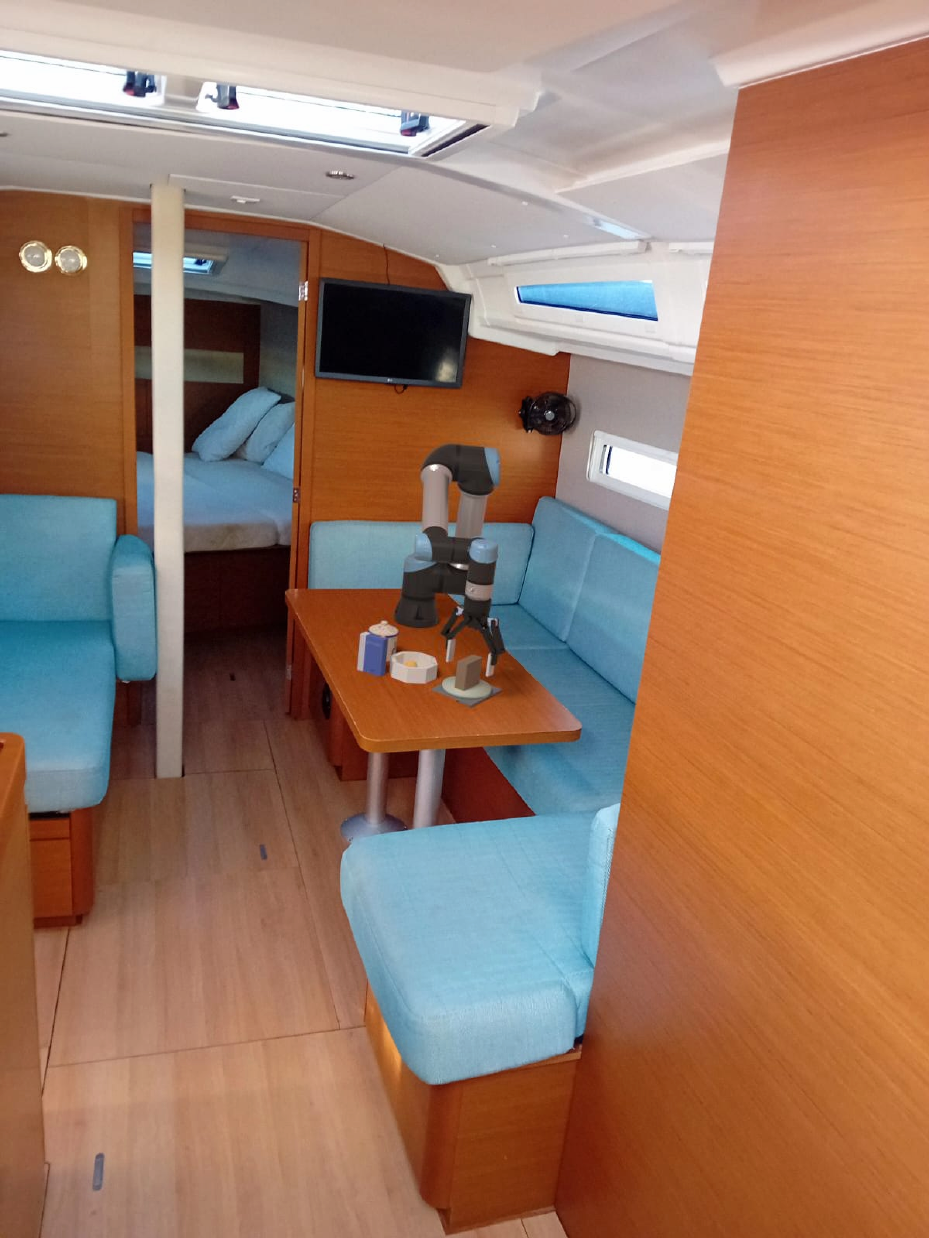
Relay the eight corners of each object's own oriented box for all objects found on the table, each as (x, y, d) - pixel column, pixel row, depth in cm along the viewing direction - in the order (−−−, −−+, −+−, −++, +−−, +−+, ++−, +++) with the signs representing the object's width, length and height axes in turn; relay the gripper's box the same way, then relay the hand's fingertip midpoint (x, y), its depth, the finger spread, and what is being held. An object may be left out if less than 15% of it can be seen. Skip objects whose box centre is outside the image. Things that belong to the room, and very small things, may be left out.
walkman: (385, 675, 269) (388, 636, 265) (380, 678, 266) (383, 639, 262) (361, 668, 272) (365, 630, 268) (356, 671, 269) (359, 632, 265)
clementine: (408, 670, 273) (410, 657, 272) (419, 674, 271) (421, 661, 270) (400, 673, 270) (401, 660, 268) (411, 677, 268) (412, 665, 266)
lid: (459, 675, 274) (463, 646, 271) (500, 690, 267) (504, 660, 264) (432, 688, 262) (435, 658, 259) (473, 704, 255) (477, 673, 252)
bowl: (408, 663, 279) (409, 648, 278) (443, 676, 273) (445, 661, 271) (380, 674, 269) (382, 658, 267) (416, 688, 262) (418, 672, 261)
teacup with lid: (397, 664, 278) (401, 627, 274) (367, 662, 276) (370, 626, 273) (393, 649, 289) (396, 613, 286) (363, 648, 287) (367, 612, 284)
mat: (461, 676, 275) (462, 674, 274) (501, 691, 268) (502, 689, 267) (429, 691, 262) (430, 689, 262) (471, 707, 255) (471, 705, 254)
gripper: (433, 587, 259) (425, 658, 266) (509, 611, 246) (499, 684, 253) (449, 582, 265) (441, 651, 272) (524, 605, 252) (513, 677, 259)
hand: (469, 667), depth 262 cm, fingers open, 13 cm apart
